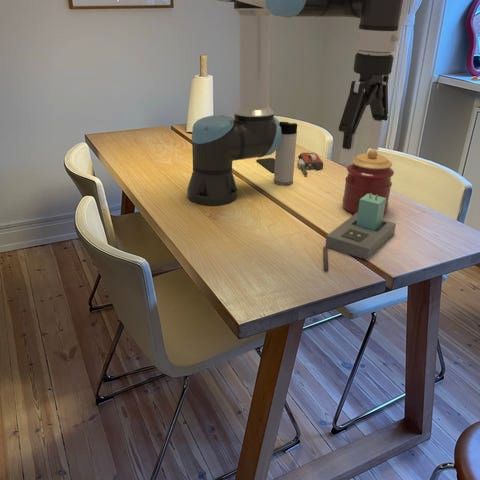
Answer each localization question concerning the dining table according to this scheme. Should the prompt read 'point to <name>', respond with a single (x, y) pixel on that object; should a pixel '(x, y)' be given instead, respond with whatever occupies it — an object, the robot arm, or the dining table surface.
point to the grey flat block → (359, 238)
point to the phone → (267, 164)
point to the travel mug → (285, 154)
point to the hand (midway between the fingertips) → (359, 155)
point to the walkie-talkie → (309, 162)
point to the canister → (367, 179)
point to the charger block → (371, 212)
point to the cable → (325, 258)
